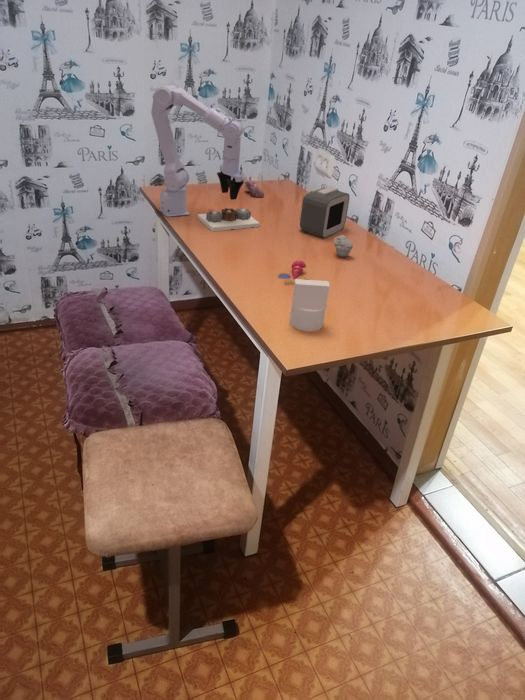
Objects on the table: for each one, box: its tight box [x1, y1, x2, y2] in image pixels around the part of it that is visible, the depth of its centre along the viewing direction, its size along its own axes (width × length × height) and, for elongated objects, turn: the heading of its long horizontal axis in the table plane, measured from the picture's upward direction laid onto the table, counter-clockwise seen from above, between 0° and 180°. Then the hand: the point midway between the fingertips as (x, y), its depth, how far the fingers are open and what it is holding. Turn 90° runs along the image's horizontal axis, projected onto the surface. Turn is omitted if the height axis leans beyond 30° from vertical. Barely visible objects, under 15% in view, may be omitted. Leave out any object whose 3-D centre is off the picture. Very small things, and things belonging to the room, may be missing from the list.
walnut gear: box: [220, 208, 237, 221], centre depth 210 cm, size 6×6×3 cm
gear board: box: [197, 207, 261, 233], centre depth 210 cm, size 19×14×6 cm
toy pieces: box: [277, 259, 310, 286], centre depth 175 cm, size 12×11×4 cm
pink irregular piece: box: [244, 179, 265, 198], centre depth 242 cm, size 10×5×7 cm, turn 26°
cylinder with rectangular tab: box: [289, 278, 330, 332], centre depth 150 cm, size 9×9×12 cm
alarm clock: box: [299, 185, 350, 239], centre depth 210 cm, size 16×11×16 cm
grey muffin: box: [333, 234, 354, 258], centre depth 193 cm, size 6×7×7 cm
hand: (229, 195), depth 207 cm, fingers open, 7 cm apart
